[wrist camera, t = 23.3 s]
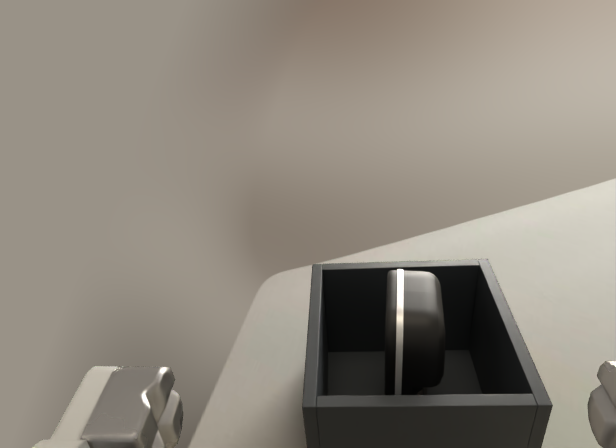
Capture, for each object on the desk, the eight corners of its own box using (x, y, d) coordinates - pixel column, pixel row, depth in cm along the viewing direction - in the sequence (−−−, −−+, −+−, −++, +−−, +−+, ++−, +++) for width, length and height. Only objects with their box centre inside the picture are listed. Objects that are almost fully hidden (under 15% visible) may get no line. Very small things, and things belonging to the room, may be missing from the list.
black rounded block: (439, 451, 35) (451, 330, 29) (383, 446, 35) (384, 326, 29) (433, 374, 40) (443, 260, 34) (386, 370, 41) (387, 258, 35)
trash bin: (314, 504, 33) (301, 407, 28) (320, 352, 44) (312, 263, 39) (525, 506, 32) (553, 405, 27) (475, 349, 43) (487, 258, 38)
